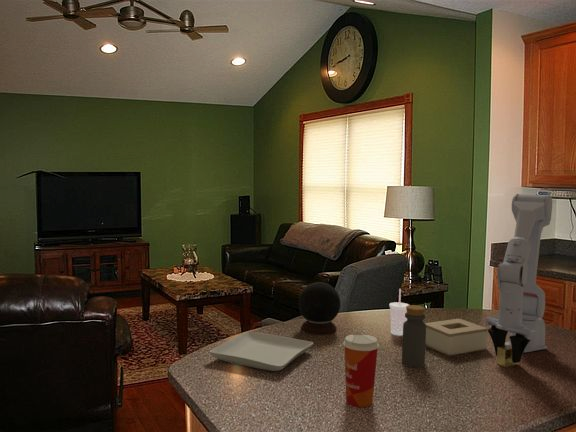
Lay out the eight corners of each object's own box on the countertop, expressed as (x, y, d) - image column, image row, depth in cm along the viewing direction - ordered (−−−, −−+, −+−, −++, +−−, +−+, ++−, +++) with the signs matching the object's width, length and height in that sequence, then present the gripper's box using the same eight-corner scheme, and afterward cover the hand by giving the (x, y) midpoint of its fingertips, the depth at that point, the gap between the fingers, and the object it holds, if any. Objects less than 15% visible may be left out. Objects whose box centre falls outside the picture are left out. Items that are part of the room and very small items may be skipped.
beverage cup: (411, 332, 167) (413, 288, 166) (404, 337, 162) (406, 291, 160) (392, 329, 170) (394, 285, 169) (385, 333, 165) (386, 289, 164)
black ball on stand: (289, 330, 166) (290, 283, 165) (310, 321, 177) (311, 276, 176) (327, 338, 159) (328, 288, 158) (346, 328, 170) (348, 281, 169)
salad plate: (314, 352, 148) (315, 340, 147) (281, 379, 129) (281, 365, 128) (247, 341, 157) (247, 329, 156) (207, 364, 137) (207, 351, 137)
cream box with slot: (458, 337, 162) (459, 318, 162) (486, 349, 152) (487, 328, 152) (422, 343, 156) (422, 323, 155) (448, 355, 146) (449, 334, 146)
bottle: (425, 368, 136) (427, 310, 135) (401, 366, 137) (403, 309, 136) (424, 360, 142) (426, 305, 141) (401, 358, 143) (403, 303, 142)
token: (510, 361, 143) (511, 344, 143) (518, 364, 141) (519, 347, 140) (496, 363, 141) (497, 346, 140) (504, 367, 138) (505, 349, 138)
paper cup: (338, 394, 119) (340, 333, 118) (372, 394, 120) (374, 333, 119) (345, 410, 111) (347, 344, 110) (381, 409, 112) (383, 344, 111)
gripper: (478, 302, 144) (475, 351, 145) (522, 316, 131) (519, 370, 132) (497, 300, 147) (494, 348, 148) (542, 313, 134) (539, 366, 135)
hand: (507, 358), depth 141 cm, fingers open, 5 cm apart
